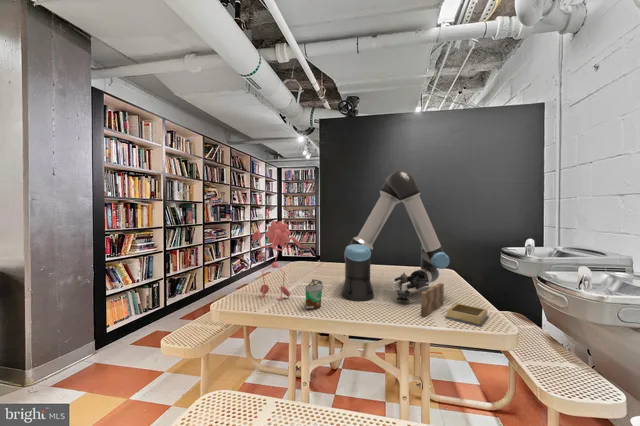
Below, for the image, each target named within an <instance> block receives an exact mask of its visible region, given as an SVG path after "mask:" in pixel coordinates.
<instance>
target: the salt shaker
mask: <svg viewBox="0 0 640 426" xmlns="http://www.w3.org/2000/svg"><path fill="white" fill-rule="evenodd" d="M400 276H401V279H400V287H399V288H398V289H397V290H396V293H397V296H398V297H397V298H396V300H397V301H399V302H403V303H408V302H410V301H411V300H410V299H409V298H410V295H411V291H410V290H409V289H408V290H406V291H402V284H405V283H407V276H408V275H407V274H405V272H403V274H401V275H400Z"/></svg>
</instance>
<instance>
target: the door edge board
mask: <svg viewBox="0 0 640 426" xmlns="http://www.w3.org/2000/svg"><path fill="white" fill-rule="evenodd" d="M444 285H445V284H444V283H443V282H438V284H436V285H433V286H432V287H430V288H427V289H425V290H423V291H422V292H421V293H420V295H421V296H420V298H421V299H420V304H421V306H420V317H422V318H423V317H424V318H426V317H427V316H429V315H431V313H434V312H435V311H436V310H438V309H439V308H441V307H442V306H443V305H444V293H445V292H444V291H445V290H444V289H445V288H444Z"/></svg>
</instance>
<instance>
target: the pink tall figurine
mask: <svg viewBox="0 0 640 426" xmlns="http://www.w3.org/2000/svg"><path fill="white" fill-rule="evenodd" d="M288 225H289V224H287V223H284V222H283V221H282V220H279V221H278V222H277V223H276V221H275V220H272V221H271V224H270V225H268V226H267V230H268V231H266V232H265V233H264V235H265V237H266V238H268V240H267V243H268V244H271V245H263V246H262V243H261V236H262V234H261V232H260V231H259V230H257V231H254V232H253V233H252V235H251V239H252V241H253V242H257V241H258V242H259V243H258V244H259V248H271V249H273V250H275V251H276V256H275V260H274V261H273V262H272V263H271V266H269V267H267V268H265V269H263V270H262V271H261V272H262V280H263V284H262V285H261V287H260V292H261V293H262V294H261V299H262V300H263V298H264V296H265V295H266V294H268V292H269V291H270V290H269V289H270V288H269V285H268V284H266V282H265V281H266V280H265V275H264V272H265V271H266V270H268V269H270V268H273V269H277V268H279V270H281V271H282V273H283V279H282V280H283V281H282V285H281V286H280V287H279V289H280V296H279V302H281V301H282V296H283V295H285V296H287V298H290V297H291V294H292V292H291V291H289V290H288V289H287V288H286V287H285V273H286V272H285V271H284V270H283V269H282V268H281V267H280V266H279V265H278V263H277V259H278V255H279V251H280V252H283V250H284V249H285V248H286V246H287V245H288V244H289V242H290V241H291V240H292V242H294V244H295V245H296V246H297V247H299V248H301V249H303V246H302V244H301V243H300V241H299V240H297V238H295V237H294V236H292V235H291V233H292V232H291V231H290V230H289V229H288ZM290 235H291V236H290ZM289 236H290V237H289ZM278 246H280V247H281V248H279V247H278ZM293 302H294V300H292V301H291V303H293Z"/></svg>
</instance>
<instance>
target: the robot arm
mask: <svg viewBox="0 0 640 426" xmlns="http://www.w3.org/2000/svg"><path fill="white" fill-rule="evenodd" d="M379 194H380V197H379V198H378V200H377V201H376V203H375V205H374V207H373V209H371V212H370V214H369V215H368V217H367V219H366V221H365V223H364V225H363V226H362V228H361V230H360V231H359V233H358V235H357V236H354V237H353V238H352V239H351V241H350V242H349V244H348V245H346V247H345V250H344V251H343V252H344V253H343V259H344V263H345V265H344V269H345V270H344V271H345V272H344V281H343V285H342V288H341V291H340V292H341V294H340V295H341V298H343V299H346V300H349V301H352V302H353V301H356V302H364V301H365V302H366V301H370V300H373V299H374V298H375V291H374V288H373V284H372V281H371V255H372V252H373V250H374V247H373V244H374V243H375V241H376V240H377V238H378V237H379V234H380V232H381V230H382V229H383V227H384V225H385V223H386V222H387V220H388V218H389V216H390V215H391V213H392V212H393V210H394V208H395V206H396V205H397V204H400V203H401V202H402V203H403V205H404V207H405V209H406V211H407V214H408V217H409V218H410V220H411V222H412V225H413V227H414V230H415V232H416V234H417V236H418V238H419V241H420V244H421V247H420V269H418V270H414V271H413V272H411V274H410V275H407V283H405V284H402V291H406V290H408V291H409V289H416V290H418V289H421V288H425V287H428V286H429V284H430V283H434V282H435V281H436V280H437V279H439V277H440V271H439V270H443V269H446V268H447V267H448V266H449V265H450V257H449V255H447V254H446V253H445V251H444V250H443V247H442V245H441V243H440V241H439V238H438V236H437V233H436V231H435V229H434V226H433V224H432V222H431V219H430V218H429V215H428V213H427V210H426V209H425V206H424V204H423V202H422V199H421V197H420V195H421V190H420V188H419V186H418V184H417V182H416V180H415V177H414V175H413V174H412V173H411V172H409V171H408V170H405V169H397V170H395V171H394V172H392V173H390V174H388V176H387V177H385V179H384V183H383V185H382V187H381V188H380V190H379ZM400 279H401V275H400V276H398V277H396V278H394V282H392V285H391V287H392V290H396V289H400Z"/></svg>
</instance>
